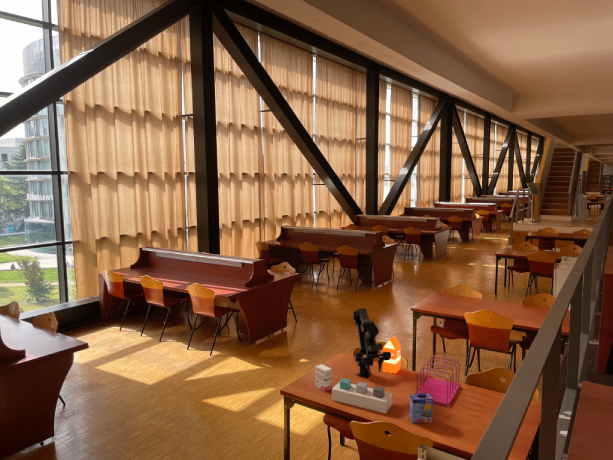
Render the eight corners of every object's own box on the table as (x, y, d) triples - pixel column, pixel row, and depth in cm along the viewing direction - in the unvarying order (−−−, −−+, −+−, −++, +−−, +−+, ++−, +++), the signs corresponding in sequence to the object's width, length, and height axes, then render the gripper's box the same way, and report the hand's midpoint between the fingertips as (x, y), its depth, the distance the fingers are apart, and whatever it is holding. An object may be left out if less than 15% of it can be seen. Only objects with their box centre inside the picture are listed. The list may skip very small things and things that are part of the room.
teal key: (343, 385, 251) (343, 378, 251) (351, 387, 249) (351, 379, 249) (339, 388, 248) (339, 381, 247) (347, 390, 246) (347, 383, 245)
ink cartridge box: (412, 423, 225) (413, 394, 223) (408, 417, 231) (409, 389, 228) (432, 422, 226) (433, 393, 224) (428, 416, 231) (429, 388, 229)
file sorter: (414, 398, 249) (415, 370, 246) (428, 379, 270) (429, 353, 268) (448, 407, 240) (449, 377, 238) (460, 387, 261) (461, 359, 259)
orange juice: (400, 368, 284) (401, 336, 281) (395, 374, 277) (395, 341, 274) (388, 365, 288) (388, 333, 285) (382, 371, 281) (383, 338, 278)
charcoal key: (376, 393, 243) (376, 385, 243) (384, 395, 241) (384, 387, 240) (373, 396, 239) (373, 389, 239) (381, 398, 237) (381, 391, 237)
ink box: (332, 389, 259) (332, 368, 257) (325, 392, 256) (325, 371, 254) (321, 383, 265) (321, 363, 264) (314, 386, 262) (314, 365, 261)
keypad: (339, 391, 256) (339, 381, 255) (392, 404, 243) (392, 393, 242) (331, 399, 247) (331, 388, 247) (385, 413, 234) (386, 402, 233)
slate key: (359, 389, 247) (359, 381, 247) (367, 391, 245) (367, 383, 245) (356, 392, 243) (356, 385, 243) (364, 394, 241) (364, 387, 241)
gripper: (355, 338, 250) (359, 367, 241) (390, 337, 252) (395, 366, 243) (352, 346, 259) (356, 375, 250) (386, 345, 261) (391, 373, 251)
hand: (374, 372), depth 248 cm, fingers open, 5 cm apart
